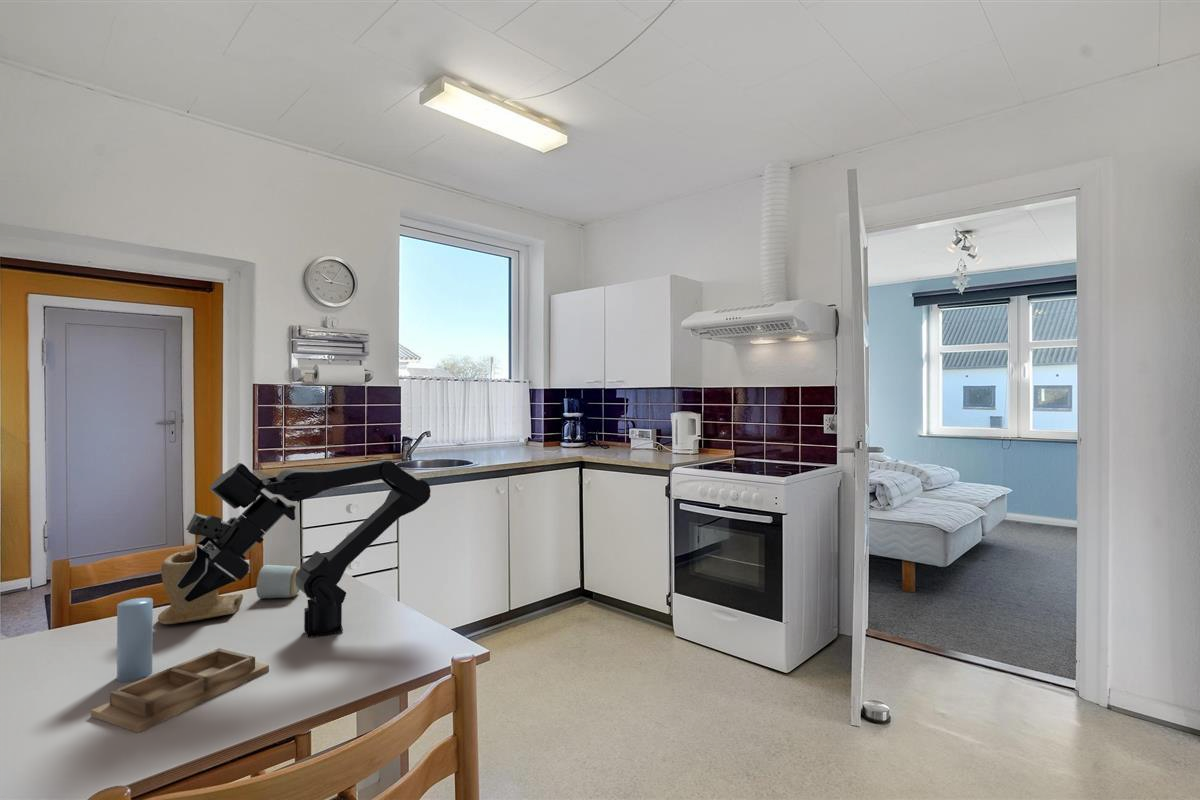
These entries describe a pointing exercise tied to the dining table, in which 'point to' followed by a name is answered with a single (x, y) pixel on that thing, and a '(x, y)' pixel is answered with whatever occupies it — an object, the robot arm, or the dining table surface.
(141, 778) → the dining table surface
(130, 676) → the blue-grey round cylinder
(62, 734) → the dining table surface
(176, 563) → the stone cup
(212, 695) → the wooden compartment tray
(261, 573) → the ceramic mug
